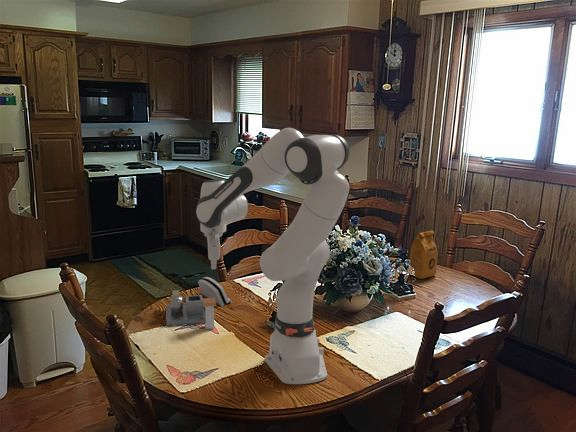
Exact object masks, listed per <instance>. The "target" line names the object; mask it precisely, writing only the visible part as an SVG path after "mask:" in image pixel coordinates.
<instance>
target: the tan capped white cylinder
mask: <svg viewBox="0 0 576 432" xmlns="http://www.w3.org/2000/svg"><path fill="white" fill-rule="evenodd" d="M202 298H203V297H202ZM202 303H203V308H204V312H205V323H204V327H205V330H206V331H208V330H215V307H217V303H216V300H215V298H208V297H205V298H203V299H202Z"/></svg>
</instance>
